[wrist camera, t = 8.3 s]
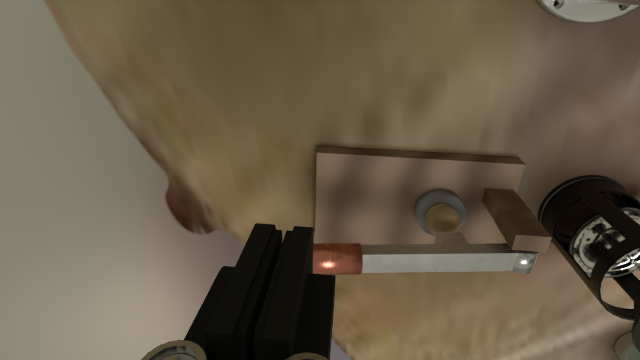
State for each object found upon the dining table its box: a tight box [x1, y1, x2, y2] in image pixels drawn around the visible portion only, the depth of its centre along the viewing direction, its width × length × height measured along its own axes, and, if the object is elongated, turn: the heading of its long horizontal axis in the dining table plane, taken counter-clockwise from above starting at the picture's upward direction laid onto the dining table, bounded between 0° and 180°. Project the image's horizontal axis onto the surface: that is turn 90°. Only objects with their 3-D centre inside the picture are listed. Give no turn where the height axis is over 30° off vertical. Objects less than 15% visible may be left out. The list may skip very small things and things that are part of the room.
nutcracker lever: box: [313, 232, 538, 275], centre depth 35 cm, size 22×3×4 cm, turn 89°
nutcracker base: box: [315, 146, 552, 252], centre depth 39 cm, size 22×12×11 cm, turn 89°
